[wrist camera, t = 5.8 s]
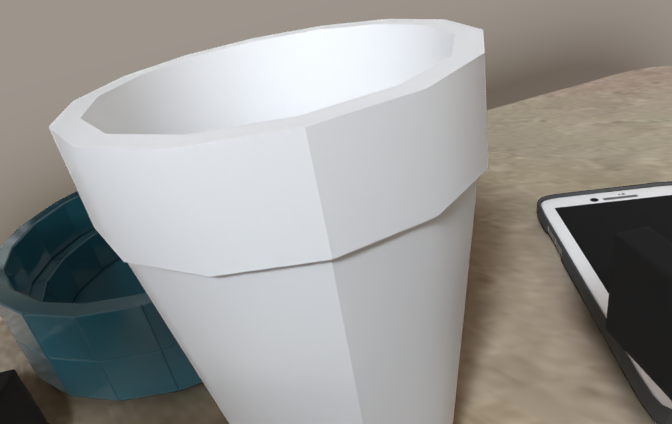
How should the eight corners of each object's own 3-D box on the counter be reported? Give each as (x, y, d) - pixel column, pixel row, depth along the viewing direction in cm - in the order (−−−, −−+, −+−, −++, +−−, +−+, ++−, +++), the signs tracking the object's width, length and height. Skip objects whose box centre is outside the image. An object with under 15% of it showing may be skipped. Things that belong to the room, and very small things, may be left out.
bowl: (-32, 438, 21) (-101, 347, 19) (100, 241, 35) (70, 174, 32) (344, 375, 21) (321, 273, 18) (327, 200, 34) (313, 130, 32)
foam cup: (402, 316, 23) (360, 11, 17) (567, 482, 15) (598, 33, 9) (196, 413, 20) (54, 88, 14) (271, 677, 12) (33, 212, 6)
